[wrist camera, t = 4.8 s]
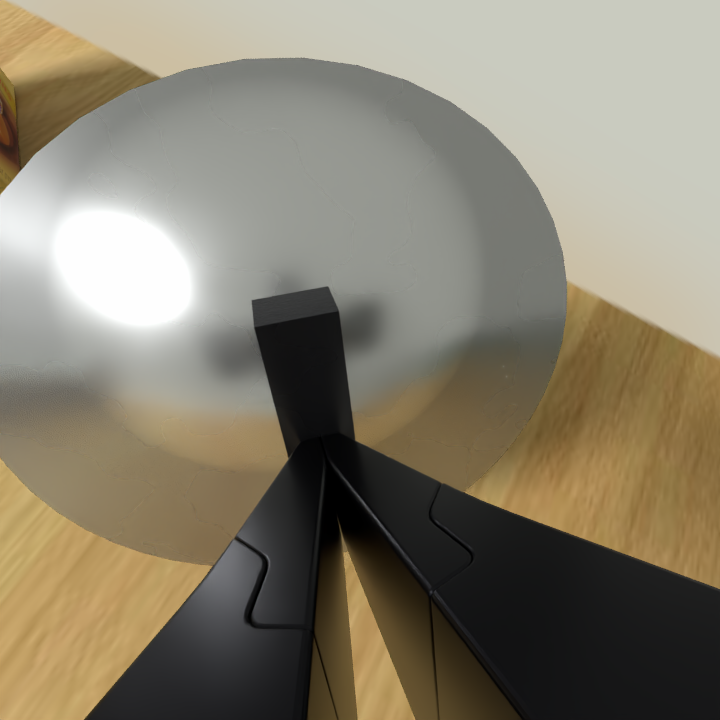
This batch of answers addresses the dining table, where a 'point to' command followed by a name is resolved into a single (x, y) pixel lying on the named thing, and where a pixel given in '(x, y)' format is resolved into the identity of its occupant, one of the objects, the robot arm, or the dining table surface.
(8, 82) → the candy box
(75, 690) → the dining table surface
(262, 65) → the lid
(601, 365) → the dining table surface
